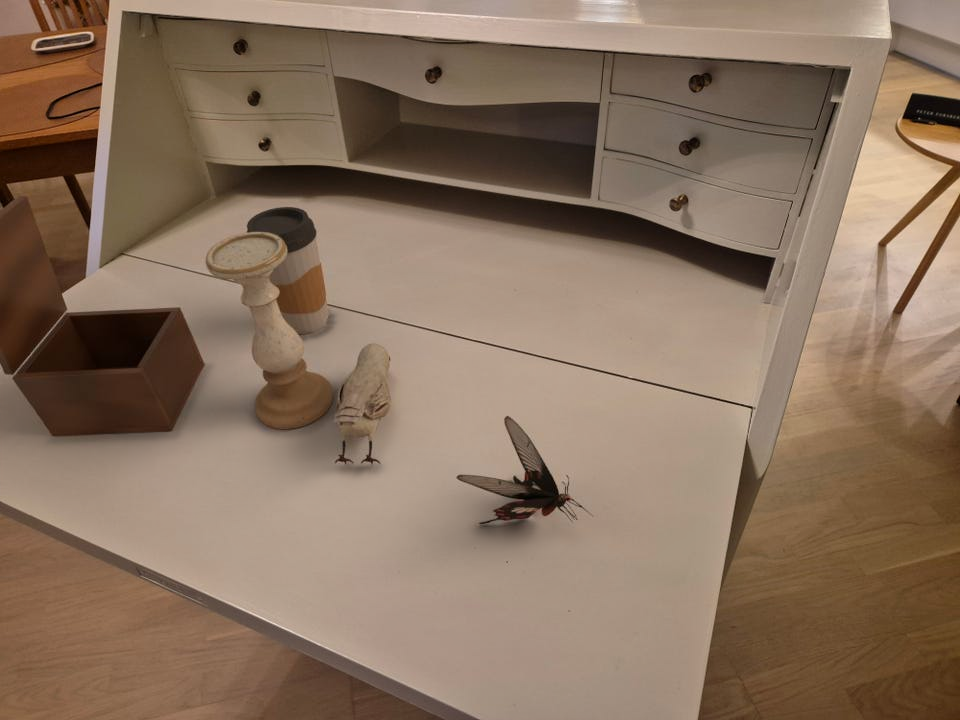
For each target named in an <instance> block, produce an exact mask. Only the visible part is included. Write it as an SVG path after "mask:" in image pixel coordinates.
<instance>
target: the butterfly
mask: <svg viewBox="0 0 960 720" xmlns="http://www.w3.org/2000/svg"><path fill="white" fill-rule="evenodd" d="M503 422H504V426H505V429H506V431H507V433H508V436H509V438H510V441H511V444H512V445H513V448H514V450H515V453H516V455H517V457H518V460H519V462H520V463H521V466H522V468H523V470H524V471H525V472H524V479H523V480H522V481H521V480H520V479H519V478H518V477H517V476H516V475H513V477H512V481H508V480H506V479H501V478H497V477H490V476H483V475H475V474H457V476H456V479H457V480H458V481H460V482H462V483H466V484H467V485H471V486H473V487H476V488H478V489H481V490H484V491H487V492H490V493H492V494H495V495H499V496H501V497H504V498H509V499H513V500H516V501H511V502H506V503H505V504H504V505H502V506H500V507H498V508H495V509H493V510H492V512H493V513H494V516H495V517H496V518H493V519H489V520H485V521H480V522H478V525H486V524H490V523H492V522H495V521H504V522H507V521H508V522H509V521H513V520H526V519H529V518H530V517H531V516H533V515H534V514H535V513H537V512H538V511H539V510H540V511H541V515H542V516H543V517H547V516H550V515H551V514H552V513H553V512H554V510H556V508H557V509H558V510H559V511H561V512H562V513H563V514H565V516H566V517H567V518H568V519H569V520H570V521H571V522H573V520H577V521H578V520H579V519H578V518H577V517H578V516H577V514H576V513H575V512H574V509H572V507H571V506H570V505H569V504H572V505H574V506H575V507H579V508H582V509H583V510H584V511H585V512H586V513H588V514H589V515H591V516H592V517H595V516H594V515H593V514H591V513H590V511H588V510H587V509H586V508H585V507H583V505H581V504H580V503H578V502H577V501H576V500H574V498H573V496H572V495H571V494H569V485H570V477H569V475H567V474H565V475H566V477H567V480H568V482H567V485H566V483H565V482H564V481H561V483H562V484H564V493H563V492H561V493H560V492H559V487H558V485H557V483H556V480H555V478H554V477H553V475H552V473H551V472H550V470H549V467H548V466H547V464H546V463H545V461H544V459H543V458H542V456H541V454H540V453H539V451H538V449H537V448H536V445H535V444H534V442H533V441H532V440H531V438H530V437H529V436H528V434H527V433H526V431H525V430H524V429H523V428H522V426H521V425H520V424H519V423H518V422H517V421H516V420H514V419H513V418H512V417H510V416H509V415H506V416H505V417H504V419H503ZM565 504H566V505H567V506H568V507H569V509H570V510H571V511H572V513H573V514H572V513H571V512H570V510H568V509H567V507H566V506H565ZM562 508H564V509H565V510H566V512H567V513H568V514H569V515H570V516H571V517H572V519H573V520H572V519H571V518H570V517H569V515H568V514H567V513H566V512H565V510H563V509H562Z"/></svg>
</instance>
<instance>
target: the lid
mask: <svg viewBox="0 0 960 720" xmlns="http://www.w3.org/2000/svg"><path fill="white" fill-rule="evenodd" d="M32 209H33V208H32V206H31V204H30V201H29V199H28V196H27V195H18V196H16V197H15V198H14V199H13V200H12V201H10V202H9V203H8V204H7V205H5V206H4V207H3V208H1V210H0V366H1V368H2V370H3V373H4V374H5V375H10V376H14V375H15V374H16V373H17V371H18V370H19V369H20V368H21V367H22V365H23V364H24V363H25V362H26V361H27V359H28V358H29V357H30V356H31V355H32V353H33V352H34V351H35V350H36V349H37V347H38V346H39V345H40V344H41V342H42V341H43V340H44V339H45V338H46V336H47V335H48V334H49V333H50V332H51V330H52V329H53V328H54V327H55V326H56V324H57V323H58V322H59V321H60V320H61V318H62V317H63V316H64V315H65V313H67V311H68V307H67V304H66V301H65V299H64V295H63V293H62V291H61V287H60V284H59V282H58V279H57V276H56V273H55V270H54V268H53V265H52V262H51V259H50V256H49V254H48V252H47V248H46V246H45V243H44V239H43V237H42V234H41V232H40V229H39V226H38V223H37V221H36V218H35V215H34V212H33V210H32Z"/></svg>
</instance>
